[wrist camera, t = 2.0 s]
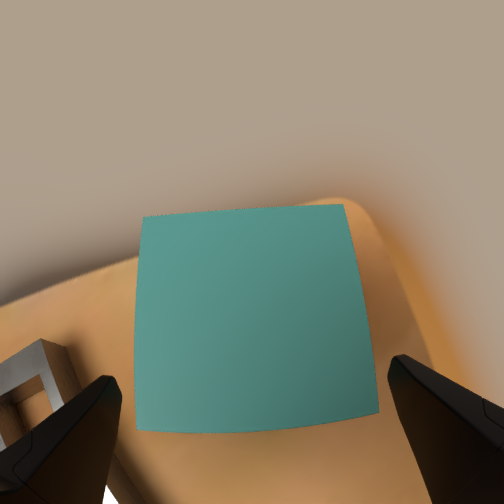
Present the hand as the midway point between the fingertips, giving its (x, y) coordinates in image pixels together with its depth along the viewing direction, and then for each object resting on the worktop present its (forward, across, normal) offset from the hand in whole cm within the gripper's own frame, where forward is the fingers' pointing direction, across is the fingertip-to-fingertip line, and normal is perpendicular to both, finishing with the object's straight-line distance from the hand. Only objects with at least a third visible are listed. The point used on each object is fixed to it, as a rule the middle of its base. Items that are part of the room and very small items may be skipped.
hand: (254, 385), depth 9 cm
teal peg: (+7, 0, +6) cm, 9 cm away
